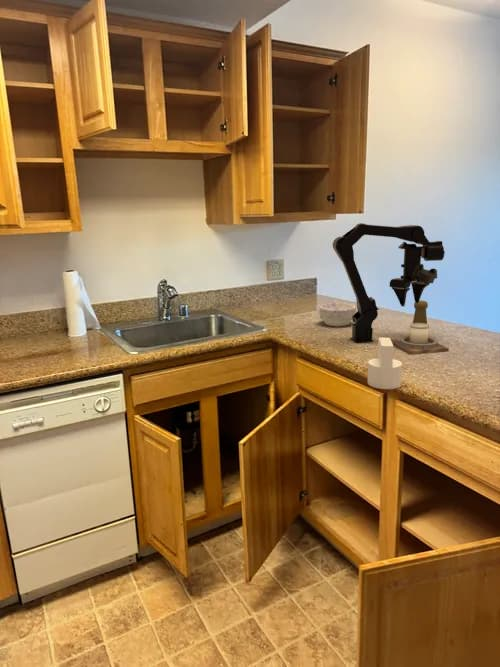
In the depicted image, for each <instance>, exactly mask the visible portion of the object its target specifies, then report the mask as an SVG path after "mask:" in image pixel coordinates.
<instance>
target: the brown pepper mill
mask: <svg viewBox="0 0 500 667" xmlns="http://www.w3.org/2000/svg"><path fill="white" fill-rule="evenodd" d="M428 306H429V304H428V302H427V301H426V300H419V303H415V302H414V304H413V307H414V309H415V310H414V314H413V320H412V323H425V324H428V318H427V308H428Z"/></svg>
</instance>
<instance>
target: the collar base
mask: <svg viewBox="0 0 500 667" xmlns="http://www.w3.org/2000/svg"><path fill="white" fill-rule="evenodd" d="M409 341H410V335H406V336H403V337H400V338H399V339H398V340H391V342H392V344H393V347H396V348H397V349H399V350H400V351H403V352H404V353H406V354H408V355H419V354H421V355H422V354H432V353H445V352H449V349H450V348H449V347H446V346H444V345H442V344H441V343H439V340H438V339H437V338H434V337H430V336H428V344H413V343H409Z"/></svg>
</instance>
